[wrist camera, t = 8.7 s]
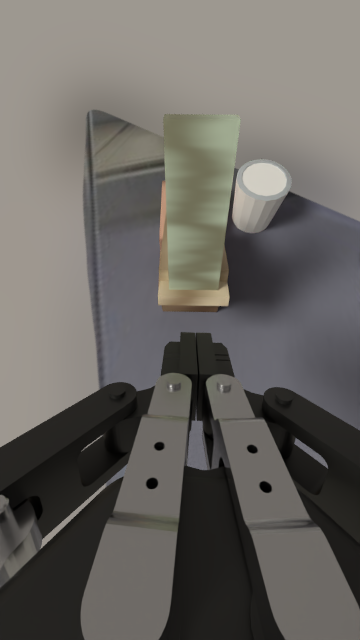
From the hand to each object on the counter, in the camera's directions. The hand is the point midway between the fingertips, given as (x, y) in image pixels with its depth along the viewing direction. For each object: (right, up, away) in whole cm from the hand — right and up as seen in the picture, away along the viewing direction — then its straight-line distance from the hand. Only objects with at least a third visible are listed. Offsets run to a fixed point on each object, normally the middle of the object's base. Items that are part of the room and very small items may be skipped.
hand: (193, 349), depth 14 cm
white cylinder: (+10, +17, +27) cm, 33 cm away
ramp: (+1, +8, +14) cm, 16 cm away
